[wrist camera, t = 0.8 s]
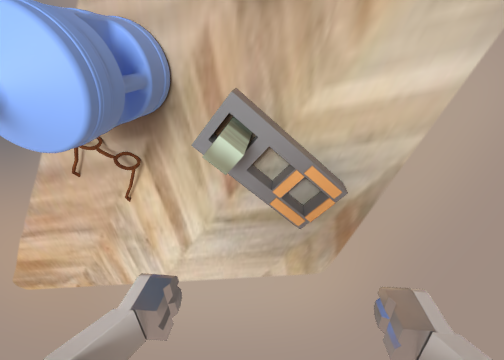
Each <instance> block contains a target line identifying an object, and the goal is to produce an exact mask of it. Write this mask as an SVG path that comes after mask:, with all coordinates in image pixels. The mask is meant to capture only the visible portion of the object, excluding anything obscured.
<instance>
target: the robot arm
mask: <svg viewBox="0 0 504 360" xmlns="http://www.w3.org/2000/svg"><path fill="white" fill-rule="evenodd" d="M178 282H179V281H178V277H177V276H169V275H157V274H143V273H142V274H140V275H139V276H138V277H137V279H136V280H135V282H134V283H133V285H132V286H131V288H130V290H129V291H128V293H127V294H126V296H125V297H124V299H123V300H122V302H121V303H120V305H119V307H118V308H117V309H113V310H111V311H110V312H108V313H107V314H106V315H104V316H103V317H101V318H100V319H98V320H97V321H96V322H94V323H93V324H92V325H90V326H89V327H87V328H86V329H85V330H83V331H82V332H80V333H79V334H77V335H76V336H75V337H73V338H72V339H70V340H69V341H68V342H66V343H65V344H63V345H62V346H61V347H59V348H58V349H56V350H55V351H54V352H52V353H51V354H49V355H48V356H46V357H45V358H44V359H43V360H128V359H129V358H130V357H131V356H132V355H133V354H134V353H135V352H136V351H137V350H138V349H139V348H140V347H141V346H142V345H143V344H144V343H145V342H146V340H164V341H167V339H168V336H169V334H170V331H171V329H172V326H173V320H172V318H173V317H174V316H175V315H176V314H177V313H178V311H179V308H180V305H181V299H182V292H181V289H180V288H179V287H178V286H177V285H178ZM378 295H379V297H380V298H379V299H378V300H376V301H375V305H374V315H375V319H376V322H377V325H378V328H379V329H381V331H382V332H383V333H384V334H385V335H384V339H383V342H384V344H385V347H386V349H387V352H388V355H389V357H390V360H492V359H491V358H490V357H488V356H487V355H486V354H484V353H483V352H482V351H480V350H479V349H478V348H477V347H475V346H474V345H473V344H471V343H470V342H469V341H467V340H466V339H465V338H464V337H462V336H461V335H460V334H454V332H453V331H452V329H451V328H450V326H449V324H448V323H447V321H446V320H445V318H444V317H443V315H442V314H441V312H440V310H439V309H438V307H437V306H436V304H435V303H434V301H433V300H432V298H431V297H430V295H429V294H428V292H427V291H426V290H424V289H411V288H394V287H381V288H380V289H379V291H378Z"/></svg>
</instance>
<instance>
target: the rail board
mask: <svg viewBox="0 0 504 360" xmlns="http://www.w3.org/2000/svg"><path fill="white" fill-rule="evenodd" d="M229 113H230V114H232V115H233V116H234V117H235V118H236V119H237V120H239V121H240V122H241V123H242V124H243V125H244V126H246V127H247V128H248V129H249V130H250V131H252V132H253V133H254V134H255V135H256V136H255V137H254V138H253V139H252V140H251V142H250V143H249V144H248V146H247V148H246V151H245V154H244V156H243V157H242V158H241V159H240V160H239V161H238V162H237V163H236V165H235V166H234V167H233V168H232V169H231V170H230V171H229V172H228V174H229V175H230V176H232V177H233V178H234V179H235V180H237V181H238V182H239V183H241V184H242V185H243V186H244V187H246V188H247V189H248V190H250V191H251V192H252V193H254V194H255V195H256V196H257V197H259V198H260V199H261V200H263V201H264V202H265V203H266V204H268V205H269V206H270V207H272V208H273V209H274V210H276V211H277V212H278V213H279V214H281V215H282V216H283V217H285V218H286V219H287V220H288V221H290V222H291V223H292V224H294V225H295V226H296V227H297V228H299V229H301V228H302V227H304V226H305V225H306V224H308V223H309V222H311V221H313V220H314V219H315V218H317V217H318V216H319V215H320V214H322V213H323V212H324V211H326V210H327V209H328V208H330V207H331V206H332V205H334V204H335V202H337V201H338V200H339V199H341V198H342V197H343V196H345V195H346V194H347V190H346V188H345V186H344V184H343V182H342V181H340V180H339V179H338V178H337V177H336V176H335V175H334V174H333V173H331V172H330V171H329V170H328V169H327V168H326V167H325V166H324V165H322V164H321V163H320V162H319V161H318V160H317V159H316V158H315V157H313V156H312V155H311V154H310V153H309V152H308V151H307V150H306V149H304V148H303V147H302V146H301V145H300V144H299V143H298V142H297V141H295V140H294V139H293V138H292V137H291V136H290V135H289V134H288V133H286V132H285V131H284V130H283V129H282V128H281V127H280V126H279V125H277V124H276V123H275V122H274V121H273V120H272V119H271V118H270V117H268V116H267V115H266V114H265V113H264V112H263V111H262V110H261V109H259V108H258V107H257V106H256V105H255V104H254V103H253V102H252V101H250V100H249V99H248V98H247V97H246V96H245V95H244V94H243V93H241V92H240V91H239V90H238V89H237V88H235V89H234V90H233V91H232V92H231V93H230V94H229V96H228V97H227V98H226V100H225V101H224V102H223V104H222V105H221V106H220V108H219V109H218V110H217V112H216V113H215V114H214V116H213V117H212V118H211V120H210V121H209V122H208V124H207V125H206V126H205V128H204V129H203V130H202V132H201V133H200V134H199V136H198V137H197V138H196V140H195V141H194V143H193V144H192V145H191V146H193V147H194V148H195V149H197V150H198V151H199V152H201V153H202V154H203V155H204V154H205V153H206V151H207V150H208V149H209V148H210V146H211V145H212V144H213V142H214V141H215V140H216V138H217V137H218V136H217V135H215V134H214V132H215V131H216V129H217V128H218V127H219V126H220V124H221V123H222V122H223V120H224V119H225V118H226V117H227V115H228V114H229ZM268 147H270V148H272V149H273V150H274V151H275V152H276V153H277V154H279V155H280V156H281V157H282V158H283V159H284V160H286V161H287V162H288V163H289V164H290V165H289V166H288V167H287V168H286V169H284V170H283V171H282V172H281V173H280V174H279V175H278V176H277V177H276V178H275V179H274V180H273V181H272V180H271V179H270V178H268V177H267V176H266V175H265V174H263V173H262V172H261V171H260V170H259V169H257V168H256V167H255V166H254V165H252V164H253V163H254V162H255V161H256V160H257V158H258V157H259V156H260V155H261V154H262V153H263V152H264V151H265V150H266V149H267V148H268ZM305 177H306V178H307V179H308V180H309V181H310V182H312V183H313V184H314V185H315V186H316V187H317V188H319V189H320V190H321V191H320V192H319V193H318V194H317V195H315V196H314V197H313V198H312V199H310V200H309V201H308V202H307V203H305V204H304V205H302V204H301V203H299V202H298V201H297V200H296V199H294V198H293V197H292V196H291V195H289V194H288V193H287V192H289V191H290V190H291V189H292V188H293V187H294V186H295V185H297V184H298V183H299V182H300V181H301V180H302V179H303V178H305Z"/></svg>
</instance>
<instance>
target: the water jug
mask: <svg viewBox="0 0 504 360" xmlns="http://www.w3.org/2000/svg"><path fill="white" fill-rule="evenodd" d="M169 86H170V72H169V66H168V63H167V60H166V57H165V55H164V52H163V50H162V49H161V47H160V45H159V44H158V42H157V41H156V40H155V38H154V37H153V36H152V35H151V34H150V33H149V32H148V31H147V30H146V29H144V28H143V27H142V26H140V25H139V24H137V23H135V22H133V21H131V20H128V19H126V18H122V17H116V16H105V15H100V14H96V13H93V12H90V11H86V10H81V9H75V8H62V7H56V6H51V5H46V4H42V3H40V2H37V1H33V0H0V136H2V137H3V138H5V139H7V140H8V141H10V142H12V143H14V144H16V145H19V146H21V147H23V148H26V149H29V150H33V151H37V152H43V153H59V152H64V151H67V150H70V149H72V148H76V147H79V146H82V145H84V144H86V143H88V142H90V141H92V140H94V139H96V138H97V137H99V136H100V135H102V134H105V133H106V132H108V131H110V130H111V129H112V128H114V127H116V126H118V125H120V124H123V123H126V122H129V121H132V120H134V119H137V118H139V117H141V116H145V115H147V114H149V113H152V112H153V111H155V110H156V109H158V108H159V107H160V106H161V105H162V103H163V102H164V101H165V99H166V97H167V94H168V91H169Z"/></svg>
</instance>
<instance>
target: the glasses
mask: <svg viewBox="0 0 504 360" xmlns="http://www.w3.org/2000/svg"><path fill="white" fill-rule="evenodd" d="M97 139H98V140H99V143H98V144H97V145H95V146H92V147H87V146H83V145H82V146H79V147H80V148H82V149H86V150H95V149H96V150H97V151H98V152H99V153H101V154H103V155H105V156H107V157H109V158H114V162H115V164H116V165H117V166H118V167H120V168H122V169H125V170H132V174H131V179H130V185H129V188H128V190H127V193H126V196H125V198H126V199H127V200H128V201H129V202H130V200H131V199H130V198H129V197H128V195H129V192H130V190H131V187H132V184H133V179H134V174H135V169H136V168H137V167H138V166H139V165H140V158H139V157H138V156H136V155H134V154H132V153H130V152H122V153H119V154H117V155H116V156H114V155H111V154H109V153H107V152H105V151H103V150H101V149H99V147H100V146H101V144H102V139H101V138H100V137H97ZM74 155H75V161H74V164H73V168H72V173H73V174H75V175H76V176H78V177H80V174H79V173H77V172H75V171H76V166H77V163H78V147H76V148H74ZM122 155H130V156H132V157H134V158H135V159H136V160H137V164H136V165H134V166H132V167H126V166H123V165H121V164H120V163H119V162H118V160H117V159H118V158H119V157H120V156H122Z"/></svg>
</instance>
